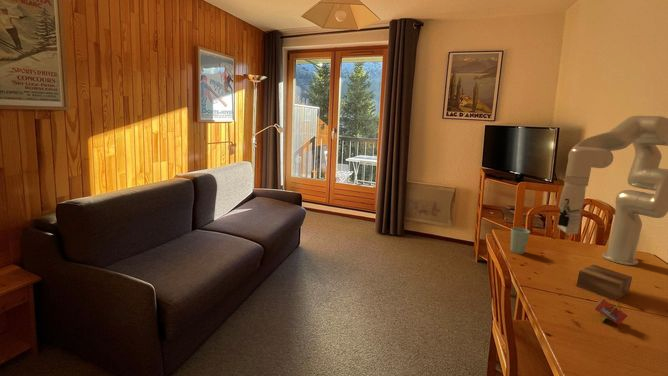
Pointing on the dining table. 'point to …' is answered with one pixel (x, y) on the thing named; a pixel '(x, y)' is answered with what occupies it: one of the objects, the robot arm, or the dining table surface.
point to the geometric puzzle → (610, 312)
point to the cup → (519, 239)
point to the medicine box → (572, 223)
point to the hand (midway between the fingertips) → (568, 224)
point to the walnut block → (604, 282)
